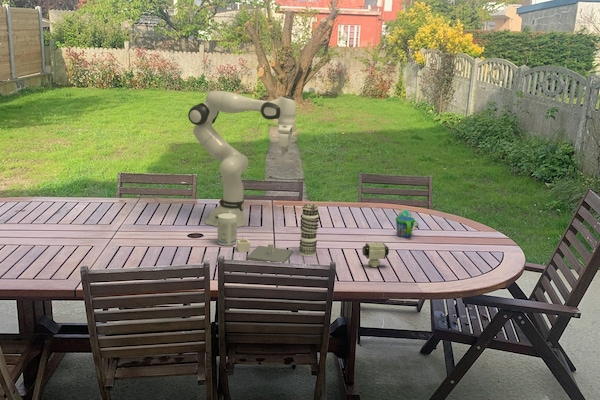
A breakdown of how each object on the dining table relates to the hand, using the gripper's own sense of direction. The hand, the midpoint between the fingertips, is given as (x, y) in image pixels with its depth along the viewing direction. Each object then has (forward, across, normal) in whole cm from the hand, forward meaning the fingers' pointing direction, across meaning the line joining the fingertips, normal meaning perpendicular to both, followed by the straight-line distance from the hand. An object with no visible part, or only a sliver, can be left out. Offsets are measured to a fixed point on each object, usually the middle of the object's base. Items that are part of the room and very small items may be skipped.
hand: (284, 153), depth 318 cm
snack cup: (+44, -16, +68) cm, 82 cm away
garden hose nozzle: (+44, -39, +71) cm, 92 cm away
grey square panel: (+44, +37, +1) cm, 57 cm away
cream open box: (+44, +32, -14) cm, 56 cm away
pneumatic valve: (+44, +38, +51) cm, 77 cm away
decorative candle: (+44, +28, +18) cm, 55 cm away
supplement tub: (+44, +25, -24) cm, 56 cm away
